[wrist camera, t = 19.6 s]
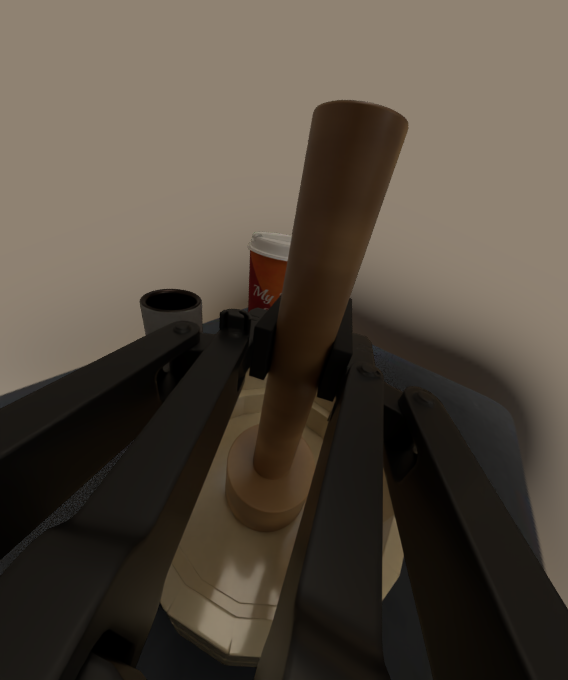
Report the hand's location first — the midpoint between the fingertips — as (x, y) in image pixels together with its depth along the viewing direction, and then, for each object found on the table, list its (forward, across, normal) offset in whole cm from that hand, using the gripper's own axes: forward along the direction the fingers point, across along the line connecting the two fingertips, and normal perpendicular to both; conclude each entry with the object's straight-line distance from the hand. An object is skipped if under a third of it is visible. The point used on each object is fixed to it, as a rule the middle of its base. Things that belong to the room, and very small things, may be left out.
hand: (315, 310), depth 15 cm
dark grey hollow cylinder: (+1, -12, -13) cm, 17 cm away
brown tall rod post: (-5, 0, -12) cm, 13 cm away
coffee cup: (+12, -5, -13) cm, 19 cm away
